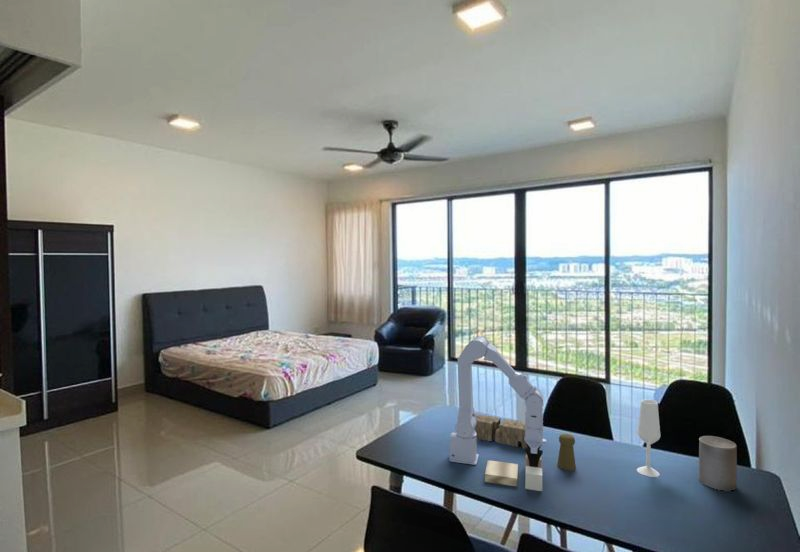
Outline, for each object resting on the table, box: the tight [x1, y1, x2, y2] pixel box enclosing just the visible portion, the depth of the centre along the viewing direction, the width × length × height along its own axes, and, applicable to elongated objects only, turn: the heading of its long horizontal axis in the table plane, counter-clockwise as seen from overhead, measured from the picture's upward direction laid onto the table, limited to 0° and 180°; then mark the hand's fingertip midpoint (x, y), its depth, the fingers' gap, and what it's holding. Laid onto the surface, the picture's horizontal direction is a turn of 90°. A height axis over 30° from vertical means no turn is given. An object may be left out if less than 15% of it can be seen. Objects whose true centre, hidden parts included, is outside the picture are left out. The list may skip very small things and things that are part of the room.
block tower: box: [474, 413, 527, 449], centre depth 169 cm, size 8×8×29 cm
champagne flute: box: [636, 398, 661, 478], centre depth 142 cm, size 7×7×24 cm
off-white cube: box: [524, 465, 543, 492], centre depth 133 cm, size 5×5×5 cm
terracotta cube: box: [525, 453, 543, 468], centre depth 144 cm, size 5×5×5 cm
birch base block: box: [484, 459, 519, 487], centre depth 139 cm, size 10×10×3 cm
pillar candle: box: [698, 435, 738, 492], centre depth 135 cm, size 10×10×15 cm
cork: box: [557, 433, 577, 472], centre depth 146 cm, size 6×6×11 cm
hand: (533, 465), depth 144 cm, fingers closed on terracotta cube, 5 cm apart
